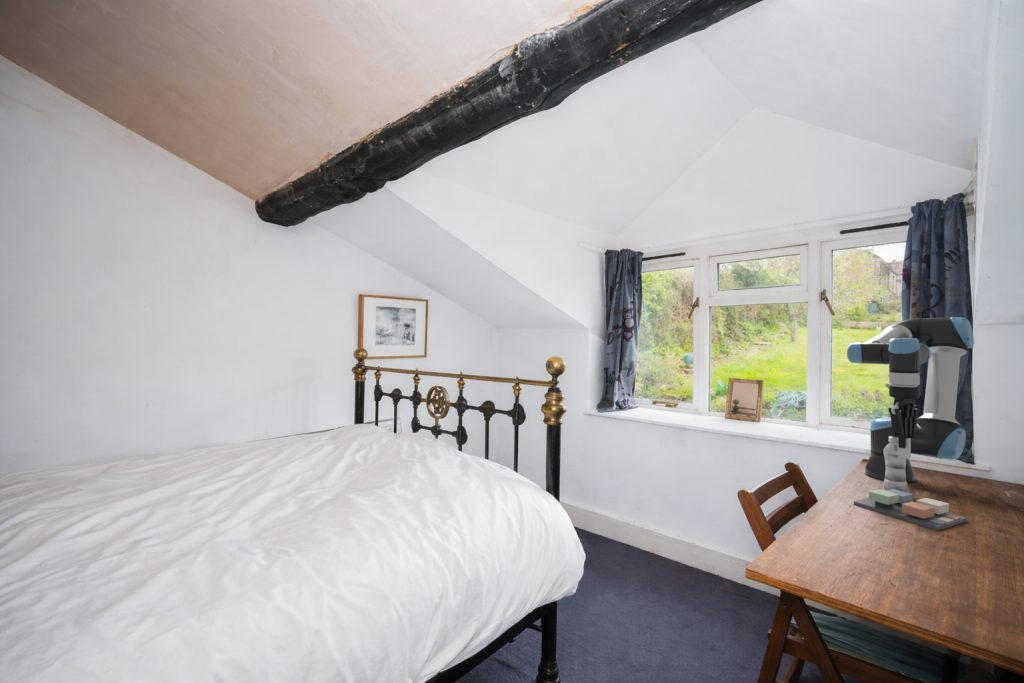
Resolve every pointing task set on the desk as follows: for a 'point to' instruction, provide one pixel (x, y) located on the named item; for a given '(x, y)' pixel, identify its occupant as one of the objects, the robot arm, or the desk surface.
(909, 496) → the key slate
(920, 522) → the keypad
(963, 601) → the desk surface
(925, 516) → the key terracotta
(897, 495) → the key sage
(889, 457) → the plastic bottle
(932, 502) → the key cream
